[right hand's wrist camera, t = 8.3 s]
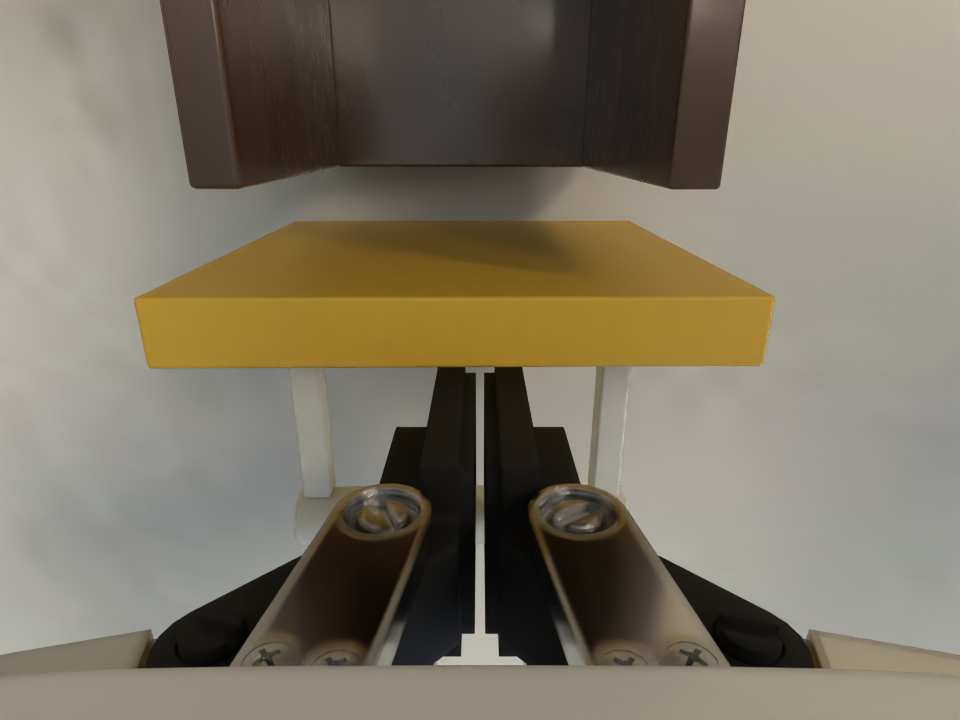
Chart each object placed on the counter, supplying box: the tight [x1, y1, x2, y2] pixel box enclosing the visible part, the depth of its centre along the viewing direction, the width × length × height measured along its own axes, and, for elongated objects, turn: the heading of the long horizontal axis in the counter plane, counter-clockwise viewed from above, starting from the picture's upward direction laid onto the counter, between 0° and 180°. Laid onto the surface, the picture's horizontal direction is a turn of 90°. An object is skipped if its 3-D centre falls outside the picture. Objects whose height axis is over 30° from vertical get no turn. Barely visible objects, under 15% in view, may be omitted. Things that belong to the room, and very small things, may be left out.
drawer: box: [134, 0, 775, 545], centre depth 12 cm, size 20×10×9 cm, turn 0°
